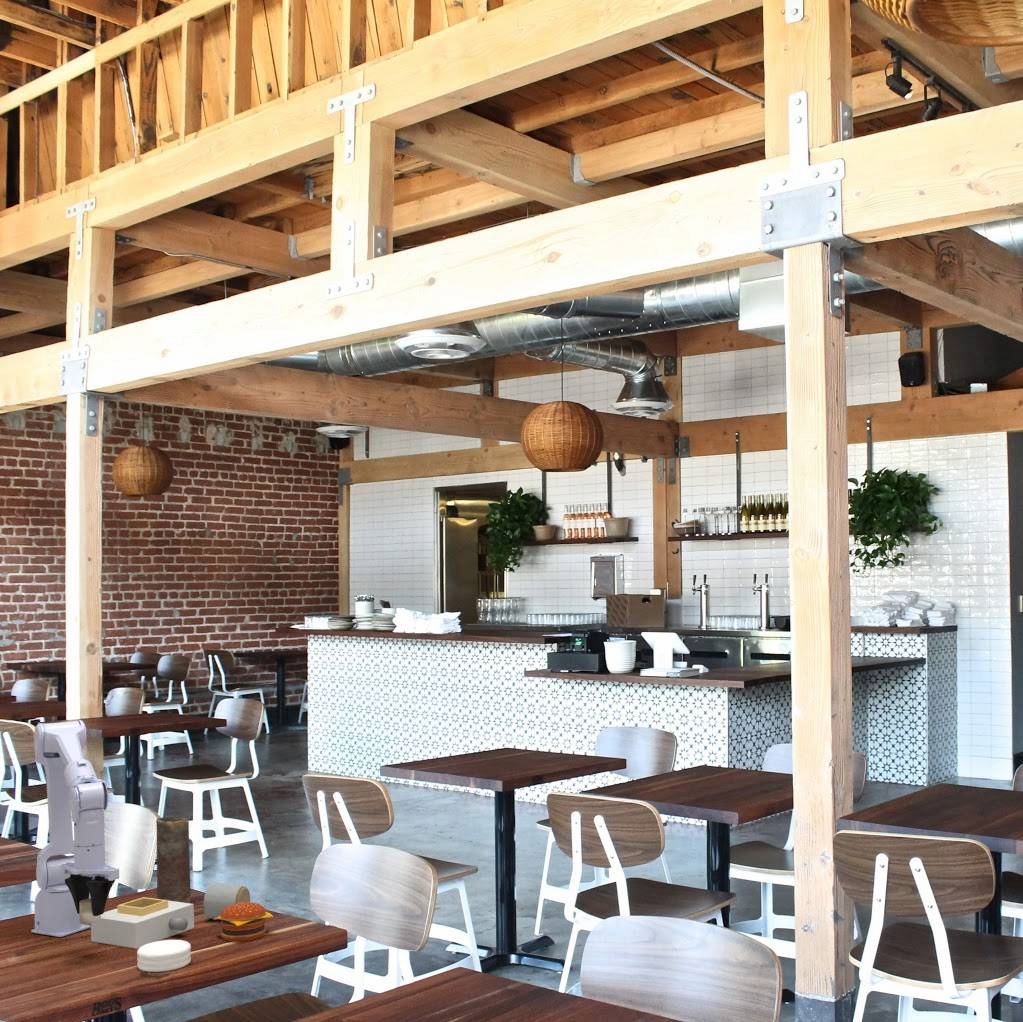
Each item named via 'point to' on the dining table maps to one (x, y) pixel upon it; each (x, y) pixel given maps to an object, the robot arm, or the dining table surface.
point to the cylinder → (87, 913)
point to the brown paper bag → (173, 859)
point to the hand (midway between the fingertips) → (90, 913)
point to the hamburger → (243, 922)
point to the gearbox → (143, 922)
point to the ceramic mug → (223, 897)
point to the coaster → (164, 955)
